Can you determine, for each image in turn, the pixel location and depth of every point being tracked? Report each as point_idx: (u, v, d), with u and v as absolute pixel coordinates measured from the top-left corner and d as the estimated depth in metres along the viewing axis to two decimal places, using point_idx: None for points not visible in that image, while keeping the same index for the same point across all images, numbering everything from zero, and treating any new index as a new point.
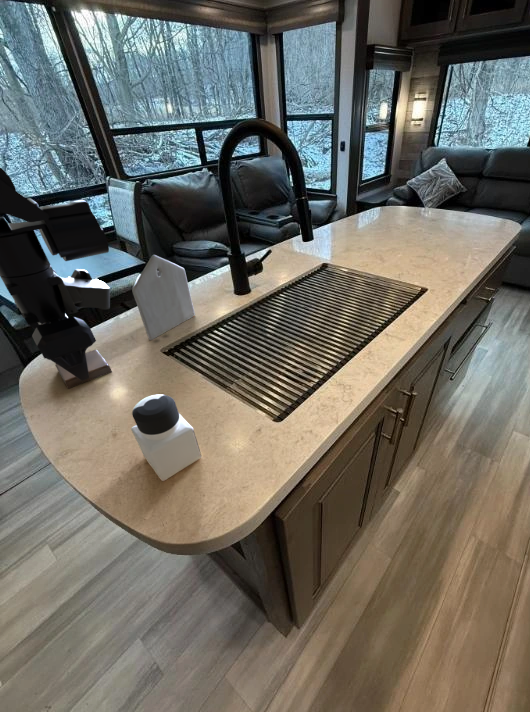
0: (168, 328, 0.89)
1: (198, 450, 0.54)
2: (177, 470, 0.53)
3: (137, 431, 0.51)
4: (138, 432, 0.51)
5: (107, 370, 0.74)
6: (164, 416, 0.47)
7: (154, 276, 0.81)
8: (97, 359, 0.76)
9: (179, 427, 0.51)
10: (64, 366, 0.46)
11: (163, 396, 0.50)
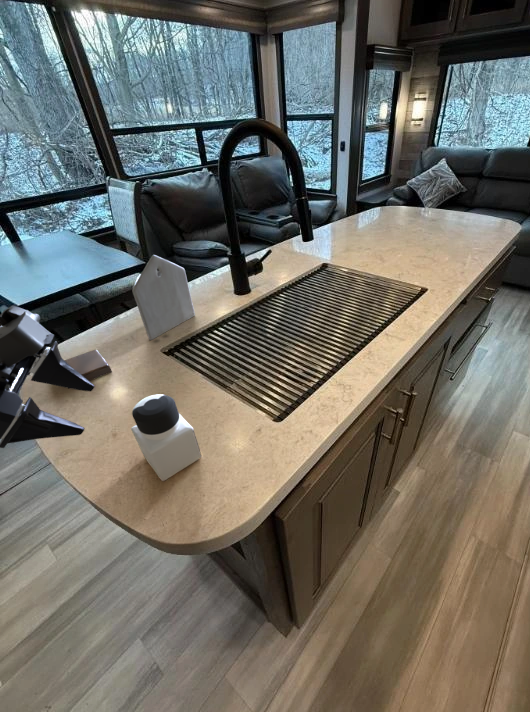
0: (168, 328, 0.89)
1: (198, 450, 0.54)
2: (177, 470, 0.53)
3: (137, 431, 0.51)
4: (138, 432, 0.51)
5: (107, 370, 0.74)
6: (164, 416, 0.47)
7: (154, 276, 0.81)
8: (97, 359, 0.76)
9: (179, 427, 0.51)
10: (39, 437, 0.40)
11: (163, 396, 0.50)
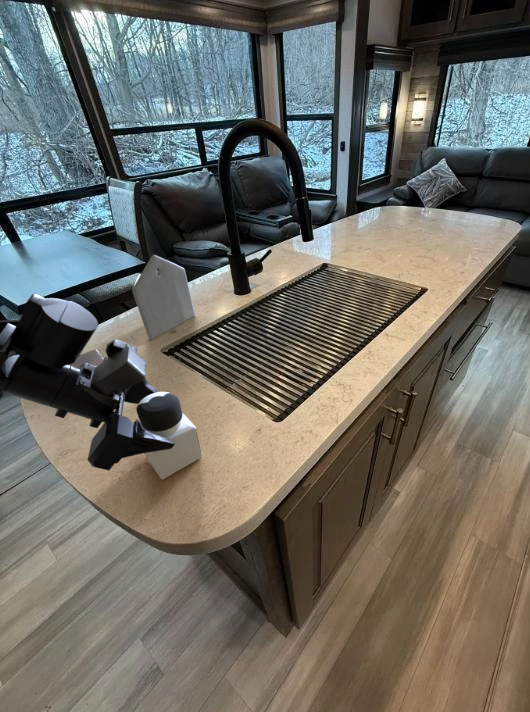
0: (168, 328, 0.89)
1: (199, 450, 0.54)
2: (177, 469, 0.53)
3: None
4: None
5: None
6: (168, 413, 0.47)
7: (154, 276, 0.81)
8: (97, 359, 0.76)
9: (182, 425, 0.51)
10: (141, 452, 0.46)
11: (168, 394, 0.50)
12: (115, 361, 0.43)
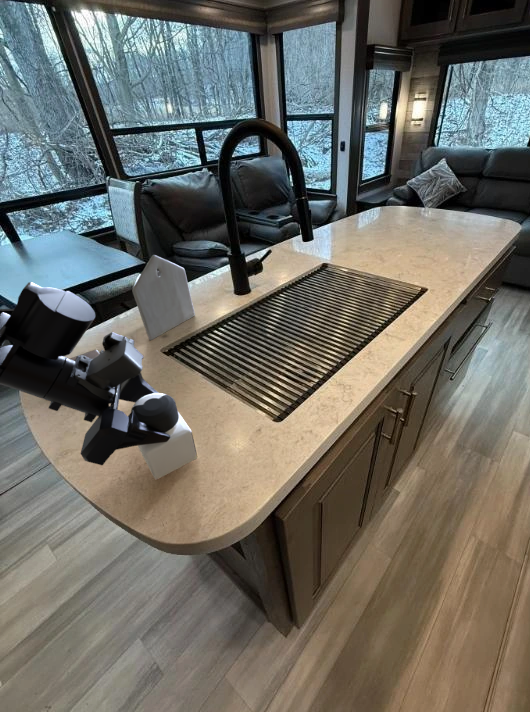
0: (168, 328, 0.89)
1: (194, 452, 0.53)
2: (171, 470, 0.52)
3: None
4: None
5: None
6: (163, 418, 0.46)
7: (154, 276, 0.81)
8: None
9: (177, 428, 0.50)
10: (136, 444, 0.45)
11: (164, 396, 0.49)
12: (112, 354, 0.42)
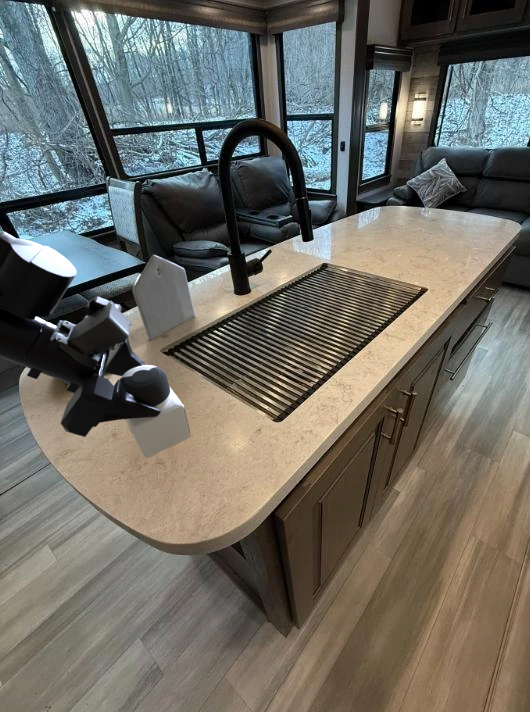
0: (168, 328, 0.89)
1: (187, 430, 0.50)
2: (163, 448, 0.49)
3: None
4: None
5: None
6: (153, 390, 0.43)
7: (154, 276, 0.81)
8: None
9: (169, 403, 0.47)
10: (123, 417, 0.42)
11: (154, 368, 0.45)
12: (96, 318, 0.39)
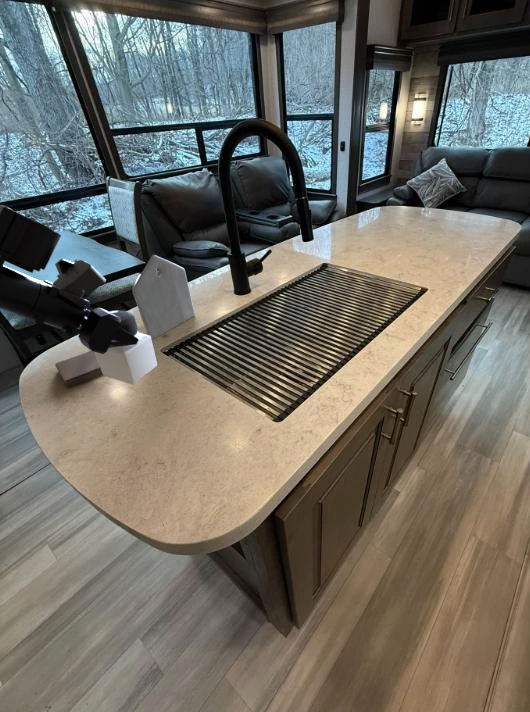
0: (168, 328, 0.89)
1: (155, 358, 0.66)
2: (142, 375, 0.63)
3: None
4: None
5: None
6: (130, 321, 0.58)
7: (154, 276, 0.81)
8: None
9: (138, 336, 0.62)
10: (117, 345, 0.56)
11: None
12: (76, 270, 0.51)
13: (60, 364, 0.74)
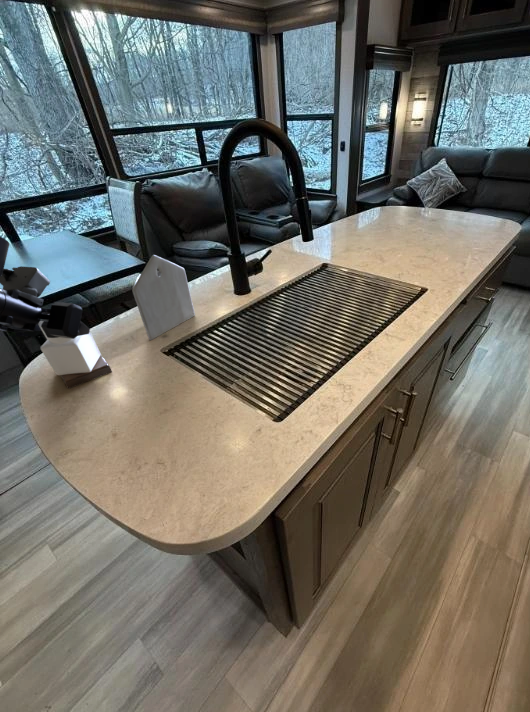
0: (168, 328, 0.89)
1: (97, 347, 0.75)
2: (94, 363, 0.73)
3: (49, 345, 0.67)
4: (51, 345, 0.67)
5: (107, 370, 0.74)
6: None
7: (154, 276, 0.81)
8: None
9: None
10: (77, 334, 0.65)
11: None
12: (21, 275, 0.59)
13: None
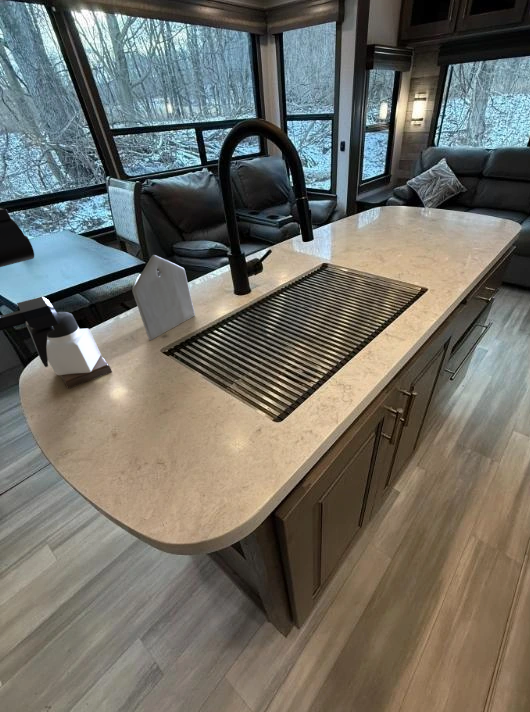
0: (168, 328, 0.89)
1: (97, 347, 0.75)
2: (94, 363, 0.73)
3: (49, 345, 0.67)
4: (51, 345, 0.67)
5: (107, 370, 0.74)
6: (71, 317, 0.67)
7: (154, 276, 0.81)
8: None
9: (79, 331, 0.71)
10: None
11: None
12: None
13: None
